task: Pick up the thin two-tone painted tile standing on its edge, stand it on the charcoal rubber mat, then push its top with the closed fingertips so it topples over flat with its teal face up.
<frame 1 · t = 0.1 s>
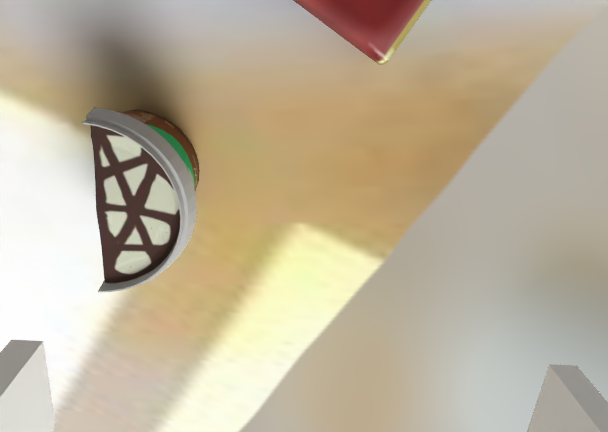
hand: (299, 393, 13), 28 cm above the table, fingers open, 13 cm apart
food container: (176, 169, 39), on the table
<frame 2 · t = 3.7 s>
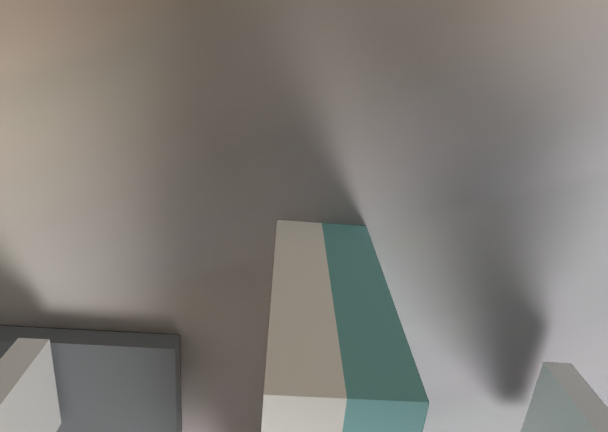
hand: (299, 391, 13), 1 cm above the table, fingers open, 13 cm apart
tile: (306, 368, 14), on the table
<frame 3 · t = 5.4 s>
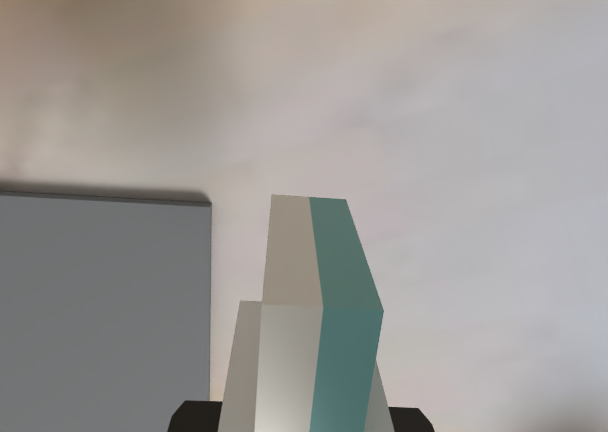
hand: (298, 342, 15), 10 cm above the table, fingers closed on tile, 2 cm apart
mat: (81, 366, 27), on the table
tile: (297, 325, 16), point 9 cm above the table, touching gripper
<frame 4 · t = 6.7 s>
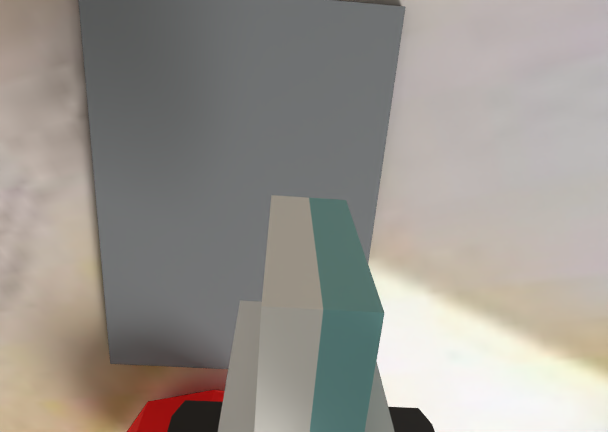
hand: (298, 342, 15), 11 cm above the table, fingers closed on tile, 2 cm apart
mat: (238, 205, 25), on the table
tile: (297, 326, 16), point 10 cm above the table, touching gripper
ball: (207, 418, 30), on the table
when the fingers open (2 cm above the table, at t = 8.2 s): tile stays where it is, resting on mat.
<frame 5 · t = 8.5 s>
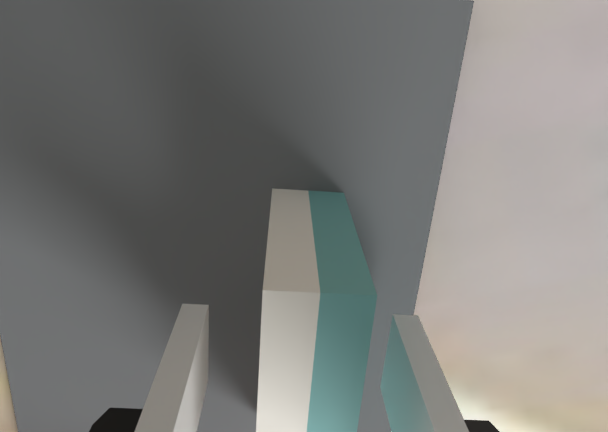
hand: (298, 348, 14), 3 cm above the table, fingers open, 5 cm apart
mat: (210, 297, 17), on the table
tile: (298, 315, 16), point 1 cm above the table, touching mat
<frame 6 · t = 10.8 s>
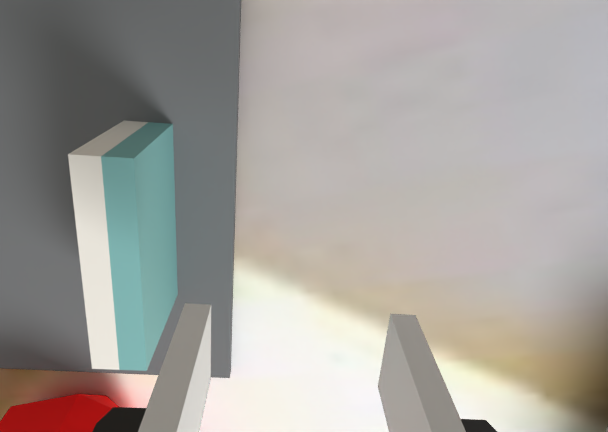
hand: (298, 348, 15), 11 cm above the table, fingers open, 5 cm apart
mat: (93, 202, 24), on the table
tile: (152, 213, 24), point 1 cm above the table, touching mat
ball: (88, 422, 29), on the table
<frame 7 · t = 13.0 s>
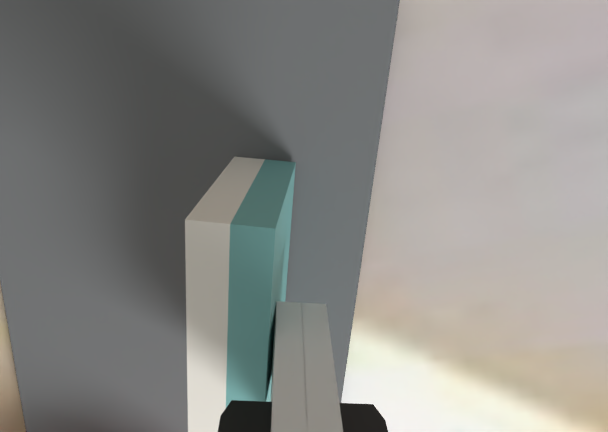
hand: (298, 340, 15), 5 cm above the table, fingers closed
mat: (184, 254, 19), on the table
tile: (259, 270, 19), point 1 cm above the table, tilted 5°, touching gripper, mat
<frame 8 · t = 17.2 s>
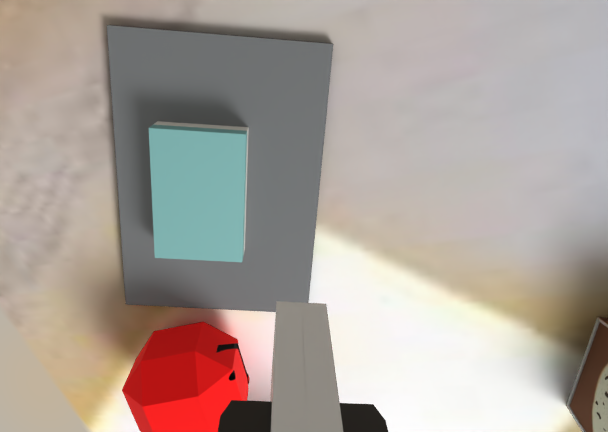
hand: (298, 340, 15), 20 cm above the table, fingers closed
mat: (220, 184, 34), on the table
tile: (245, 196, 33), point 2 cm above the table, tilted 90°, touching mat
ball: (198, 350, 40), on the table
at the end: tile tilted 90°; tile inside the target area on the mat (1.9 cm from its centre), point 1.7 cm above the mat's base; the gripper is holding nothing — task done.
